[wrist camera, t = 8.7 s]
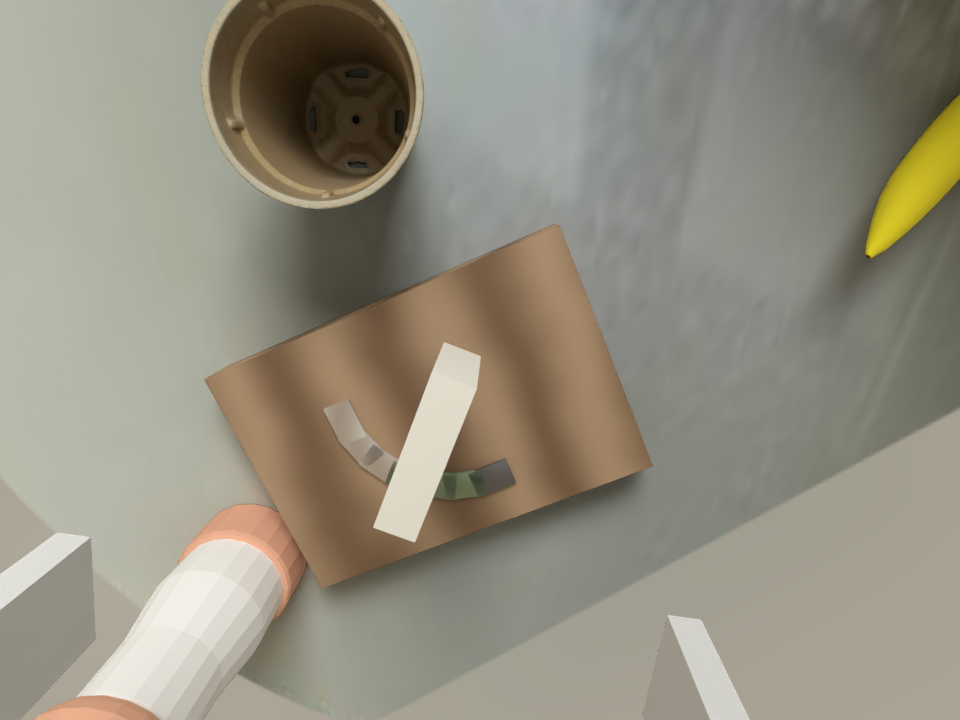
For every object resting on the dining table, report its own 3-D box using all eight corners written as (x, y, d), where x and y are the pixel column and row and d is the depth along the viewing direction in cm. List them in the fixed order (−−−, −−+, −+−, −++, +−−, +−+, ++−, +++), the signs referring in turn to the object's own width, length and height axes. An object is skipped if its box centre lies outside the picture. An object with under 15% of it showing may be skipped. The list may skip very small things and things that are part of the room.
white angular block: (452, 318, 32) (429, 370, 22) (485, 331, 32) (479, 389, 22) (388, 486, 35) (340, 606, 24) (419, 498, 35) (385, 621, 24)
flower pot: (467, 171, 33) (457, 159, 25) (320, 233, 34) (262, 241, 26) (402, 0, 31) (367, -77, 23) (247, 72, 32) (159, 24, 24)
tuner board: (554, 224, 34) (560, 225, 31) (640, 446, 37) (654, 468, 34) (227, 366, 37) (201, 381, 33) (334, 560, 40) (320, 591, 37)
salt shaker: (267, 615, 41) (78, 948, 23) (182, 555, 40) (-89, 852, 22) (328, 547, 40) (179, 845, 21) (241, 483, 39) (4, 736, 20)
